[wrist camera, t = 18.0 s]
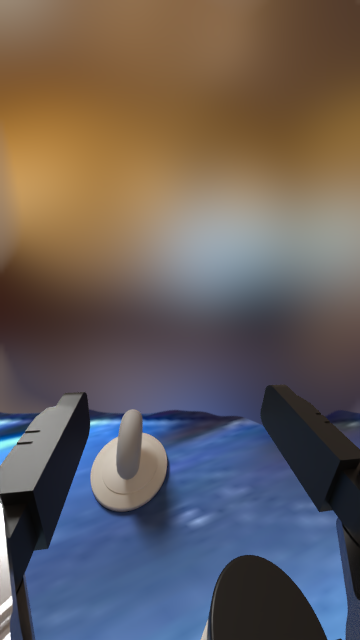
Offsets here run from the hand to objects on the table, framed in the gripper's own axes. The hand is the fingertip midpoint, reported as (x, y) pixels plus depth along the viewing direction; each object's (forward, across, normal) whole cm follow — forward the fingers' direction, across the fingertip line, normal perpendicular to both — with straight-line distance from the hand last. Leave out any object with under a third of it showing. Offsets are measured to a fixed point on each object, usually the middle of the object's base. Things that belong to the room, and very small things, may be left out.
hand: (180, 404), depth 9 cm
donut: (+19, +5, +29) cm, 35 cm away
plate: (+19, +5, +30) cm, 36 cm away
